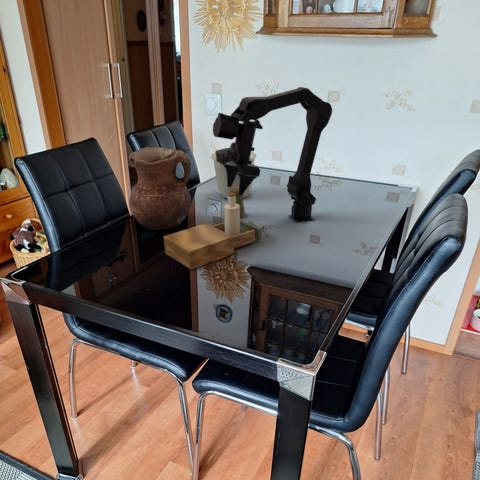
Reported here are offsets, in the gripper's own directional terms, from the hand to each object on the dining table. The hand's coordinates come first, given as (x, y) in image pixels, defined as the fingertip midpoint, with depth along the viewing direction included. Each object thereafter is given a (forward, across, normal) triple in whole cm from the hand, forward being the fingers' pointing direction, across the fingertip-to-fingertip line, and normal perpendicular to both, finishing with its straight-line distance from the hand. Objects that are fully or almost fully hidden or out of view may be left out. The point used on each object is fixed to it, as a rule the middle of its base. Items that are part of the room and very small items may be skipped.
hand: (234, 190), depth 144 cm
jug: (+19, -18, -17) cm, 31 cm away
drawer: (+14, +8, 0) cm, 16 cm away
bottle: (+13, +9, -2) cm, 16 cm away
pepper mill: (+12, -13, +10) cm, 20 cm away
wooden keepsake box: (+18, +12, -14) cm, 26 cm away
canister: (+10, -35, +18) cm, 40 cm away
